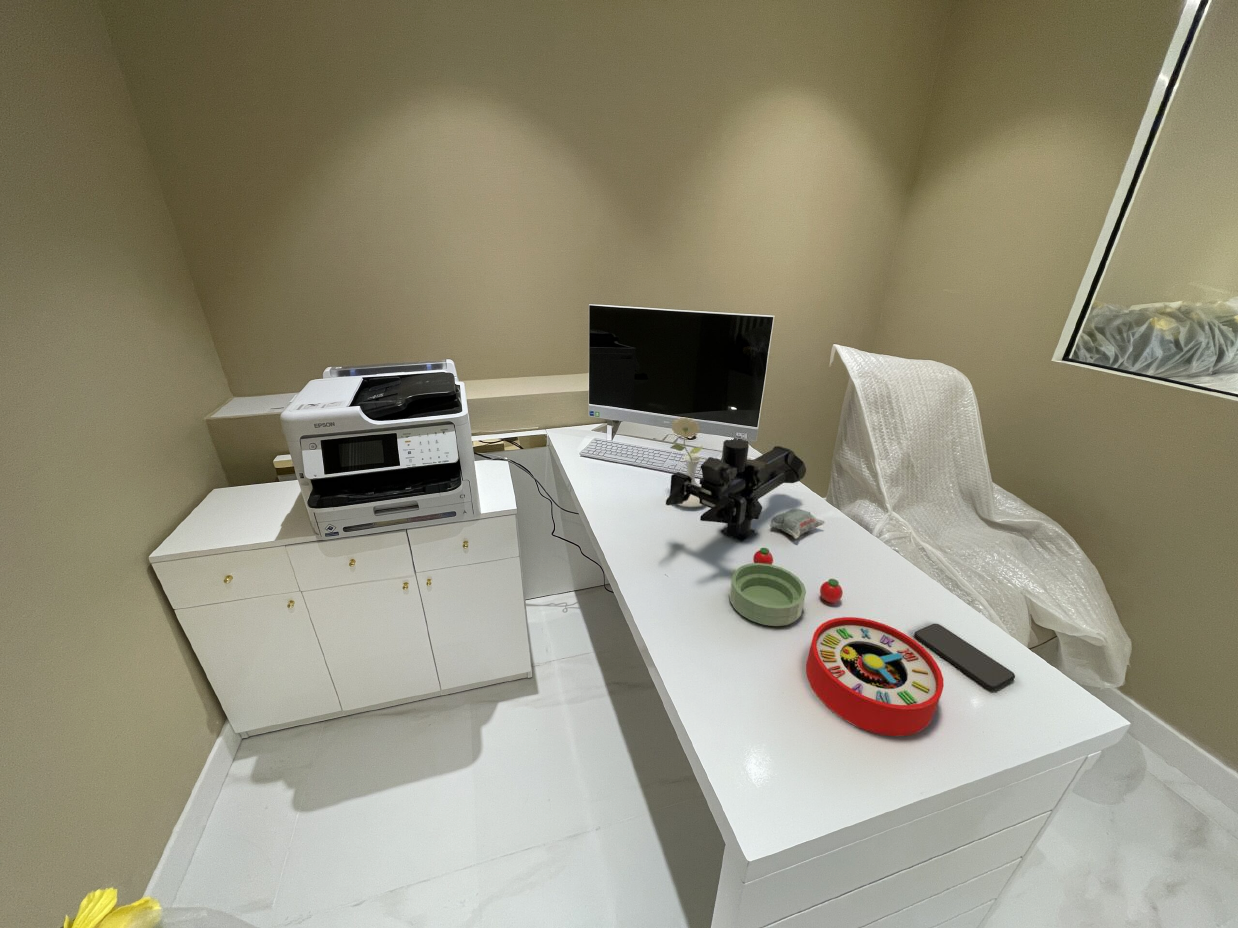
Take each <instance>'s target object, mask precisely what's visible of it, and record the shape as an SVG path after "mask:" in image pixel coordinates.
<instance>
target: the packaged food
mask: <svg viewBox="0 0 1238 928" xmlns="http://www.w3.org/2000/svg"><path fill="white" fill-rule="evenodd" d="M825 523H826V522H825V520H821V519H818V518H817V517H816V516H814V515H813V514H811V511H808V510H804V509H801V508H798V507H793V508H790V509H789V510H787V511H784V512H782V513H779V514H776V515H774V516H773V517H772V518H771V519H770V524H769V526H770V528H774V527H775V528H776V529H778V530H780V531H782V532H784V533H786V534H788V535H790V536H792V537H793V538H794V539H795V540H797V539H799V538H800V536H802V535H804V534H805V533H807V532H810V531H811V530H814V529H817V528H818V527H820V526H823V525H824V524H825Z"/></svg>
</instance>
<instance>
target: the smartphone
mask: <svg viewBox="0 0 1238 928" xmlns="http://www.w3.org/2000/svg"><path fill="white" fill-rule="evenodd" d="M913 635H914V637H915V639H916V640H917V641H919V642H921V643H922V644H924V645H925V646H927V647H928V648H929V649H931V650H932V651H933V652H935V654H937V655H939V656H941V657H942V658H944V659H945V660H946V661H947V662H949V663H951V664H952V665H953V666H955V668H957V669H959V670H960V671H962V672H963V673H965V674H966V675H967V676H968V677H970V678H971V679H973V680H975V682H977V683H979V684H980V685H982V686H983V687H985V688H986V689H988V690H990V691H995V690H998V689H1000V688H1001V687H1003V686H1004V685H1006V684H1008V683H1010V682H1012V681H1014V680H1015V678H1016V674H1015V673H1014V671H1012V670H1010V669H1009V668H1007V667H1006V666H1004V665H1003V664H1001V663H1000V662H998V661H996V660H995V659H993V658H992V657H990V656H989V655H987V654H986V653H985V652H983V651H981V650H980V649H978V648H977V647H975V646H973V645H972V644H970V643H969V642H967V641H966V640H965V639H962V638H961V637H960V636H959V635H957V634H955V633H954V632H953V631H950V630H949V629H947V628H945V627H944V626H943V625H941V624H939V623H932V624H930V625H927V626H925V627H923V628H920V629H918V630H916V631H914V633H913Z"/></svg>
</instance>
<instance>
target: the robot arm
mask: <svg viewBox="0 0 1238 928" xmlns="http://www.w3.org/2000/svg"><path fill="white" fill-rule="evenodd" d="M749 448H750V445H749V441H748V440H745V439H725V440H724V441H723V443H722V454H721V458H720V459H719V458H715V457H713V456H709V457H708V458H707V459H706V460H705V461H704V462H703V463H702V464H701V465H700V470H701V474H702V477H701V478H700V479H699V484H698V485H699V486H701V487H699V486H697V485H694V484H692V483H691V482H692V478H691V477H690V476H688V475H687V474H685V473H683V472H680V471H677V472H675V473H673V474H671V475H670V476H671V477H670V489H669V491H670V492H669V493H670V495H669V494H668V497H667V498H666V500H665V505H666V506H675V505H678V504H683V502H685V501H687V500H688V499H689V497H690V494H691V495H693V496H696V497H698V498H699V499H700V501H699V503H700V504H702V505H703V506H705V507H707V508H709V509H707V510H706V511H705V512H703V513H702V514H701V515H700V518H699V520H700V521H701V522H708V523H709V522H710V523H712V522H713V523H720V524H727V525H726V527H724V528H722V529H721V531H720V532H721V533H722V534H724V535H726V536H728V537H730V538H733V539H735V540H736V541H739V542H741V543H743V542H745V541H746V540H748V539H749V538H750V537H751V536H753V535H755V534H756V530H754V529H752V528H751V526H752V521H754V520H760V519H759V518H760V515H761V514H762V512H763V505H762V504H761V502H760V501H759V500H760V499H761V498H762V497H764V496H766V495H767V494H768V493H770V492H772V491H774V490H775V489H777V488H778V487H780V486H781V485H783V484H795V483H798V482H800V481H801V480H803V479H804V478H805V475H806V473H807V467H806V464H805V462H804V461H803V460H802V459H801V458H800V457H799V456H798V455H796V453H795V451H794V450H792V449H790V448H788V447H783V446H780V445H775V446H774V447H773V448H772V449H771V450H769V451H767V452H765V453H764V454H762V455H760V456H758V457H756V458H753V459H751V458H750V459H748V455H749Z"/></svg>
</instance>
